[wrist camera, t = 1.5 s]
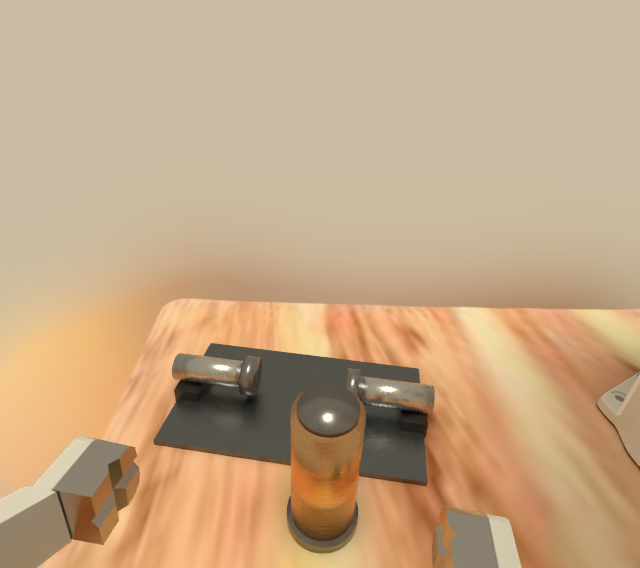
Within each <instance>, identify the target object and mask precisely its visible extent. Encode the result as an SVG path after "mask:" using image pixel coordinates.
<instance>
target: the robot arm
mask: <svg viewBox="0 0 640 568" xmlns="http://www.w3.org/2000/svg"><path fill="white" fill-rule="evenodd" d="M597 405H598V407H599V408H600V410H601V411H602V412H603V413H604V415H605V416H606V417H607V418H608V419H609V420H610V421H611V422H612V423H613V424H614V425H615V427H616V428H617V430H618V432H619V434H620V437H621V439H622V441H623V444H624V446H625V447H626V449H627V451H628V452H629V454H630V455H631V457H632V458H633V459H634V461H635V462H636V463H637V464H638V466H639V467H640V372H638V373H636V374H635V375H633V376H632V377H630V378H628V379H627V380H625V381H624V382H622V383H620V384H619V385H617V386H615V387H614V388H612V389H611V390H609V391H607V392H606V393H604V394H603V395H602V396H601V397H600V399H599V400H598V402H597ZM136 457H137V454H136V450H135V447H131V446H127V445H122V444H118V443H113V442H109V441H104V440H99V439H95V438H90V437H85V436H79V437H77V438H76V439H74V440H73V441H72V442H71V443H70V444H69V445H68V447H66V449H65V450H64V451H63V452H62V453H61V454H60V455H59V456H58V458H57V459H56V460H55V461H54V462H53V463H52V464H51V465H50V466H49V468H48V469H47V470H46V471H45V472H44V473H43V474H42V475H41V477H40V478H39V479H38V480H37V481H36V482H35V483H34V484H33V485H32V486H28V485H26V486H24V487H22V488H20V489H18V490H16V491H15V492H13V493H11V494H9V495H7V496H5V497H3V498H1V499H0V568H37V567H38V566H40V565H41V564H42V563H43V562H45V561H46V560H47V559H49V558H50V557H51V556H53V555H54V554H55V553H57V552H58V551H59V550H61V549H62V548H63V547H65V546H66V545H67V544H69V543H70V542H71V541H72V540H71V539H74V540H79V541H84V542H90V543H95V544H100V545H104V543H105V541H106V540H107V538H108V537H109V535H110V534H111V532H112V530H113V529H114V527H115V526H116V524H117V522H118V521H119V516H118V511H119V510H121V509H123V508H124V507H126V506H127V505H129V503H130V502H131V500H132V498H133V497H134V495H135V492H136V490H137V487H138V484H139V478H140V472H139V467H138V466H137V465H136V464H135V463H134V462H133V461H134V460H135V458H136ZM432 559H433V568H522V566H521V562H520V559H519V555H518V551H517V547H516V543H515V539H514V535H513V531H512V528H511V524H510V522H509V520H508V519H507V518H505V517H500V516H495V515H489V514H484V513H482V512H476V511H471V510H465V509H459V508H454V507H448V506H444V507H443V508H442V510H441V513H440V525H438V526H436V529H435V533H434V537H433V546H432Z"/></svg>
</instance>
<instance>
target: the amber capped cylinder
mask: <svg viewBox="0 0 640 568" xmlns="http://www.w3.org/2000/svg"><path fill="white" fill-rule="evenodd" d="M365 421H366V411H365V407H364V405H363V403H362V402H361V400H360V399H359V398H358V397H357V396H356V395H355V394H353V393H352V392H351V391H349V390H348V389H346V388H344V387H342V386H339V385H334V384H320V385H316V386H313V387H311V388H309V389H307V390H305V391H303V392H302V393H301V394H300V395H298V396H297V398H296V399H295V400H294V402H293V404H292V407H291V496H290V498H289V501H288V506H287V523H288V528H289V530H290V533H291V535H292V537H293V538H294V539H295V541H296V542H297V543H298V544H299V545H301V546H302V547H303V548H305V549H307V550H309V551H312V552H315V553H331V552H334V551H337V550H339V549H341V548H342V547H344V546H345V545H346V544H347V543H348V542H349V541H350V539H351V538H352V537H353V535H354V532H355V529H356V525H357V518H358V507H357V503H356V494H357V486H358V478H359V470H360V462H361V454H362V446H363V438H364V429H365Z"/></svg>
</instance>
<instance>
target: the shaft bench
mask: <svg viewBox="0 0 640 568" xmlns="http://www.w3.org/2000/svg"><path fill="white" fill-rule="evenodd" d="M172 375H173V378H174V379H177V380H180V382H179V383H178V385H177V386H176V388H175V390H174V392H175V397H176V403H175V405H174V407H173V408H172V410H171V412H170V413H169V415H168V417H167V418H166V420H165V422H164V424H163V425H162V427H161V429H160V430H159V432H158V434H157V435H156V437H155V439H154V440H153V441H154V444H156V445H163V446H169V447H176V448H182V449H189V450H195V451H202V452H208V453H215V454H221V455H228V456H234V457H241V458H248V459H254V460H261V461H267V462H274V463H280V464H287V465H291V407H292V404H293V402H294V400H295V399H296V398H297V396H298V395H300V394H301V393H302V392H303V391H305V390H307V389H309V388H311V387H313V386H316V385H320V384H334V385H339V386H342V387H344V388H346V389H348V390H349V391H351V392H352V393H353V394H355V395H356V396H357V397H358V398H359V399H360V400H361V402H362V403H363V405H364V407H365V411H366V421H365V429H364V438H363V446H362V454H361V462H360V470H359V476H365V477H371V478H378V479H385V480H391V481H398V482H404V483H411V484H417V485H424V486H426V485H427V473H426V460H425V447H424V438H425V435H426V431H427V427H428V422H427V413H429V414H431V413H432V411H433V407H434V386H433V385H427V384H420V380H419V369H416V368H408V367H400V366H392V365H384V364H376V363H368V362H360V361H351V360H343V359H335V358H327V357H319V356H311V355H303V354H295V353H287V352H279V351H270V350H262V349H254V348H246V347H238V346H230V345H222V344H214V343H211V344H210V346H209V348H208V349H207V351H206V353H205V354H204V356H199V355H191V354H183V353H179V354H178V355H177V356H176V358H175V360H174V363H173V367H172Z"/></svg>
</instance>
